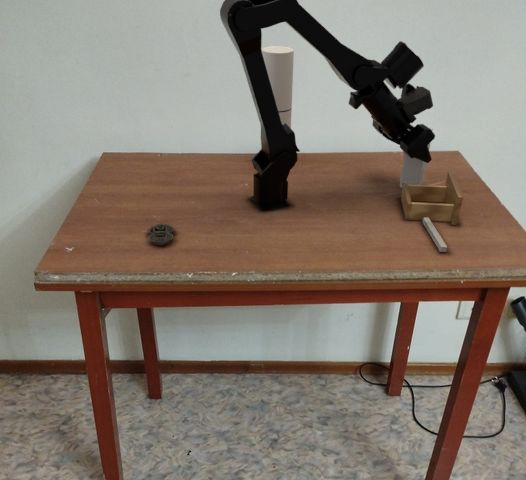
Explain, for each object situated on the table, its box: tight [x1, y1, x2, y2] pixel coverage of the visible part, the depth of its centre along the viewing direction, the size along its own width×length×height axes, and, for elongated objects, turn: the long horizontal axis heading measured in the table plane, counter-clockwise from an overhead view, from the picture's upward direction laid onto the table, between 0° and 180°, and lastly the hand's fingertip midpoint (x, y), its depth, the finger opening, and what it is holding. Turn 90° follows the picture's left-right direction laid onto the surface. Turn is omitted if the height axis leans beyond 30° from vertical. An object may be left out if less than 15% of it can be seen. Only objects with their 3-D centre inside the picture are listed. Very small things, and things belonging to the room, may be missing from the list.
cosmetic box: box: [399, 125, 433, 189], centre depth 130 cm, size 6×4×12 cm
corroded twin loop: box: [147, 223, 175, 246], centre depth 114 cm, size 5×8×1 cm, turn 8°
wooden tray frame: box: [400, 171, 464, 226], centre depth 123 cm, size 10×13×6 cm
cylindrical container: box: [260, 45, 295, 150], centre depth 139 cm, size 7×7×25 cm
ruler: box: [421, 217, 448, 253], centre depth 115 cm, size 12×1×1 cm, turn 4°
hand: (422, 155), depth 130 cm, fingers closed on cosmetic box, 7 cm apart
